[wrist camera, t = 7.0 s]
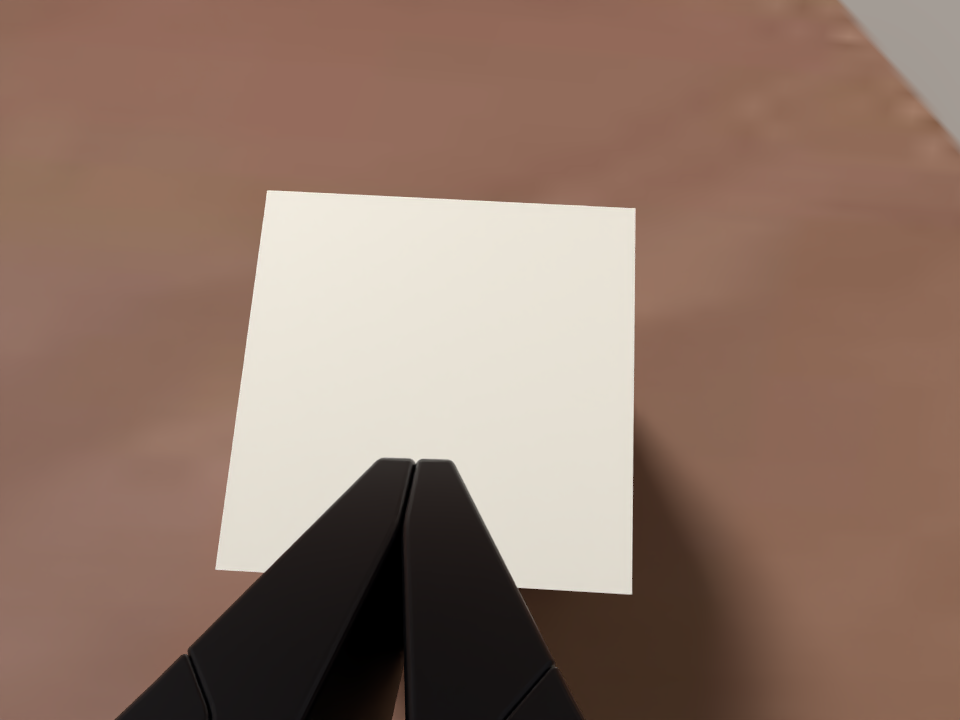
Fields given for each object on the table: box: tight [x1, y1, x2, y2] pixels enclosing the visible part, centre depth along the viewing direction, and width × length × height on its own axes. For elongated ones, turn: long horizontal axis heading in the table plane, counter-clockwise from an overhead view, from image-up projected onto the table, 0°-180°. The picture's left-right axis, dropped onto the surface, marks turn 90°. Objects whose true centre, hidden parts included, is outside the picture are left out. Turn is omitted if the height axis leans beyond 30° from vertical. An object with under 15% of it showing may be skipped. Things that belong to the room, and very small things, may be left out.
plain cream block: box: [215, 190, 635, 595], centre depth 16 cm, size 6×6×8 cm
